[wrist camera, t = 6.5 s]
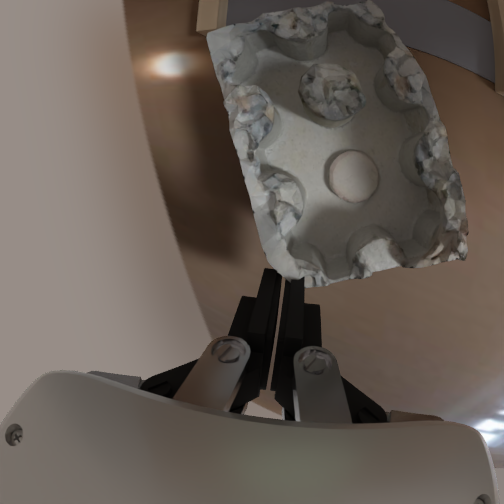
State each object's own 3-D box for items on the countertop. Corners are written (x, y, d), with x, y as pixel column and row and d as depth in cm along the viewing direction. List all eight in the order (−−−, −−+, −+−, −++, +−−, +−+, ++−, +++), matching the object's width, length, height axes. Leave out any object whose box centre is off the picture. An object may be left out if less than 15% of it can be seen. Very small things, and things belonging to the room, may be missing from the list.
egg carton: (434, 240, 11) (473, 274, 7) (285, 269, 13) (271, 313, 9) (379, 26, 8) (398, -18, 4) (227, 56, 10) (191, 21, 7)
